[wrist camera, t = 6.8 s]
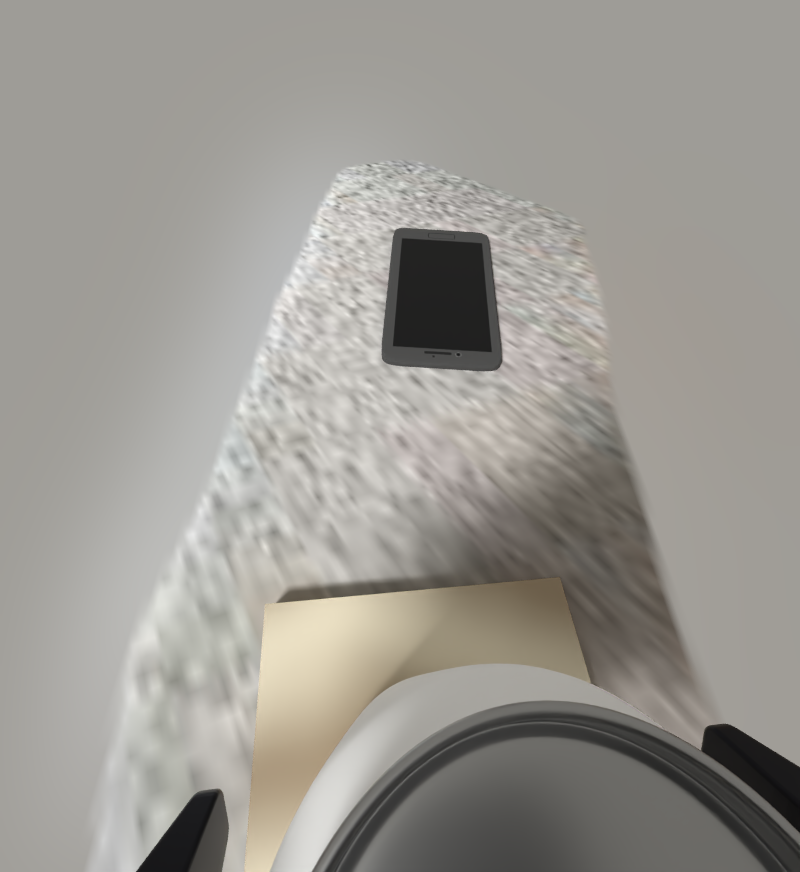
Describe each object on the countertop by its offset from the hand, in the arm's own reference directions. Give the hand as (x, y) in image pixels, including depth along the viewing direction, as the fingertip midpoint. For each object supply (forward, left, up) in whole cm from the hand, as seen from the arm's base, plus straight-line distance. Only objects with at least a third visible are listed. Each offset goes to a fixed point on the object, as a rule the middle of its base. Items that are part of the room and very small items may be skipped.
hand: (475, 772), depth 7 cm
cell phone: (+24, -4, -9) cm, 26 cm away
